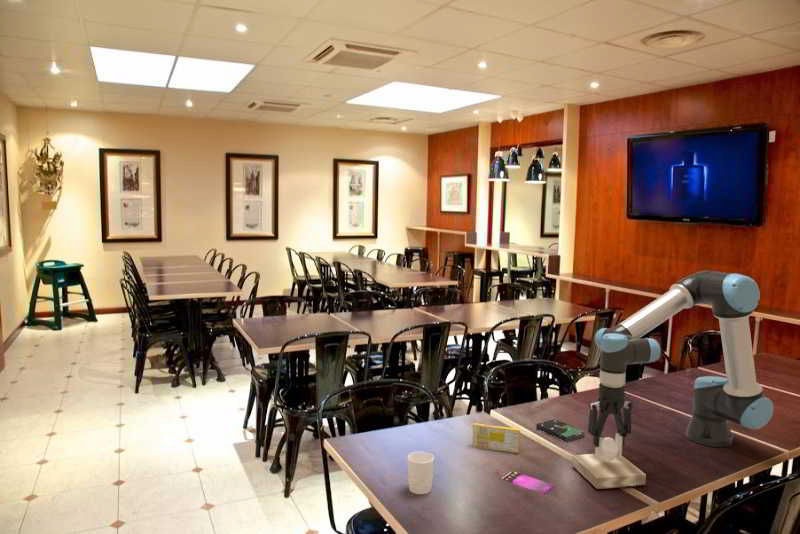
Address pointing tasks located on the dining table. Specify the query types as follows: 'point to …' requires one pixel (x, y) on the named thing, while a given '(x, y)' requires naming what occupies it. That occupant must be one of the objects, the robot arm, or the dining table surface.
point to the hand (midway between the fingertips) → (608, 455)
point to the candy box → (496, 438)
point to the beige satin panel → (608, 471)
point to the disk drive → (560, 430)
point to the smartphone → (527, 482)
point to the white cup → (420, 472)
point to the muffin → (609, 449)
